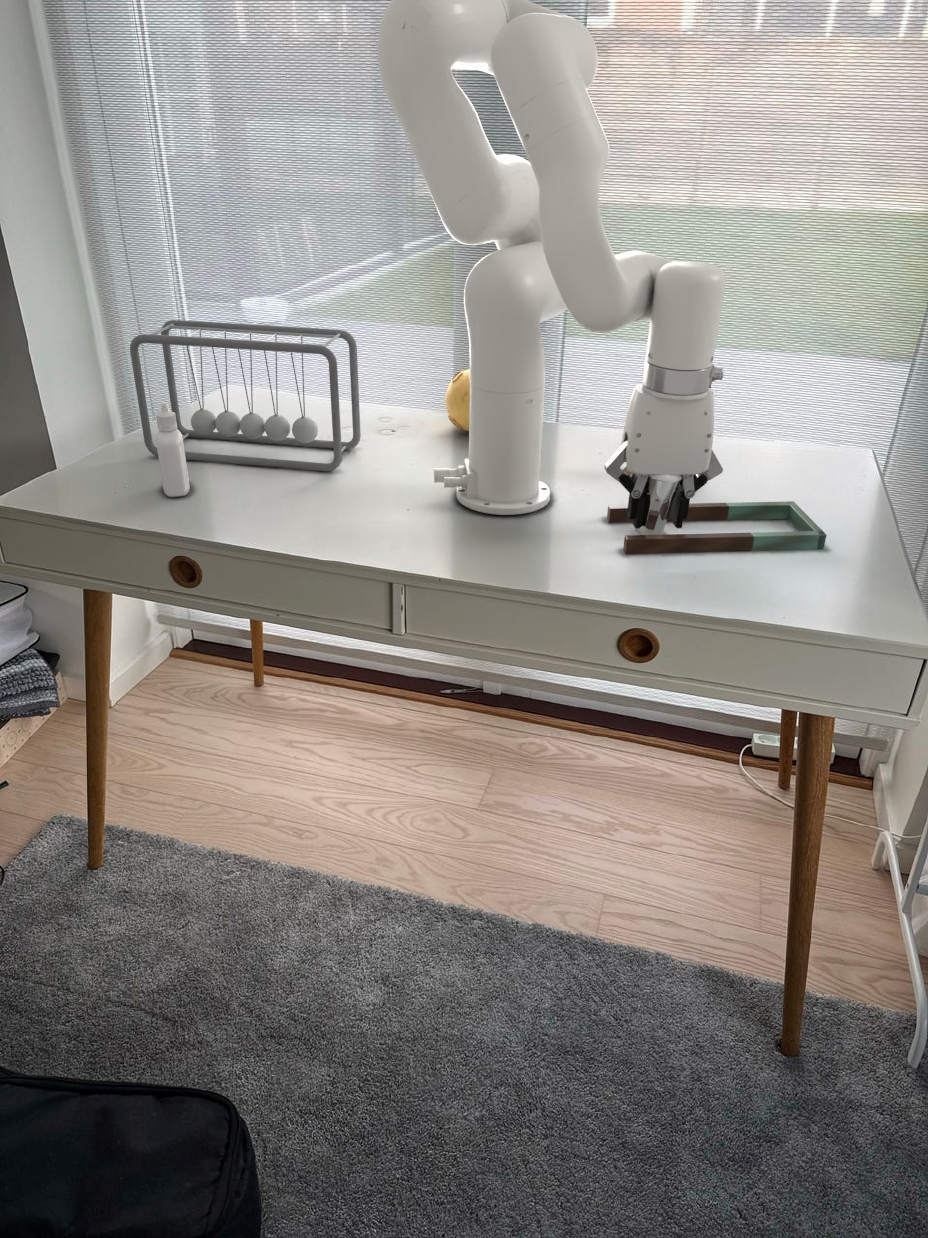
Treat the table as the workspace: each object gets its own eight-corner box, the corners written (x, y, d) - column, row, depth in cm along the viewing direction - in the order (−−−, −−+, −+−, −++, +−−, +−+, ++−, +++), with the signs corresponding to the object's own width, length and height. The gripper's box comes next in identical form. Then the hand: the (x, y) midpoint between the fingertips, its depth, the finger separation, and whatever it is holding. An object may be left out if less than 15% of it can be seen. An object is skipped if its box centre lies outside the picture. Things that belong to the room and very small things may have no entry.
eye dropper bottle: (201, 484, 131) (189, 398, 125) (182, 499, 126) (169, 411, 120) (172, 481, 132) (159, 396, 126) (152, 496, 127) (137, 408, 121)
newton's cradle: (362, 449, 144) (357, 329, 135) (341, 473, 135) (334, 347, 126) (177, 434, 148) (160, 318, 140) (145, 457, 140) (125, 334, 131)
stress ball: (439, 422, 155) (439, 361, 150) (497, 419, 157) (499, 358, 152) (453, 442, 147) (453, 378, 142) (514, 438, 149) (516, 375, 144)
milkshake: (671, 545, 116) (692, 468, 111) (628, 536, 117) (647, 459, 112) (673, 532, 120) (693, 457, 115) (631, 522, 120) (650, 447, 116)
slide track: (625, 554, 113) (627, 539, 112) (606, 519, 122) (608, 504, 121) (823, 549, 115) (827, 534, 114) (790, 515, 124) (793, 501, 123)
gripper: (738, 369, 112) (713, 511, 121) (597, 368, 111) (583, 511, 120) (759, 388, 106) (731, 536, 115) (610, 387, 104) (594, 537, 114)
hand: (655, 522), depth 117 cm, fingers closed on milkshake, 4 cm apart
